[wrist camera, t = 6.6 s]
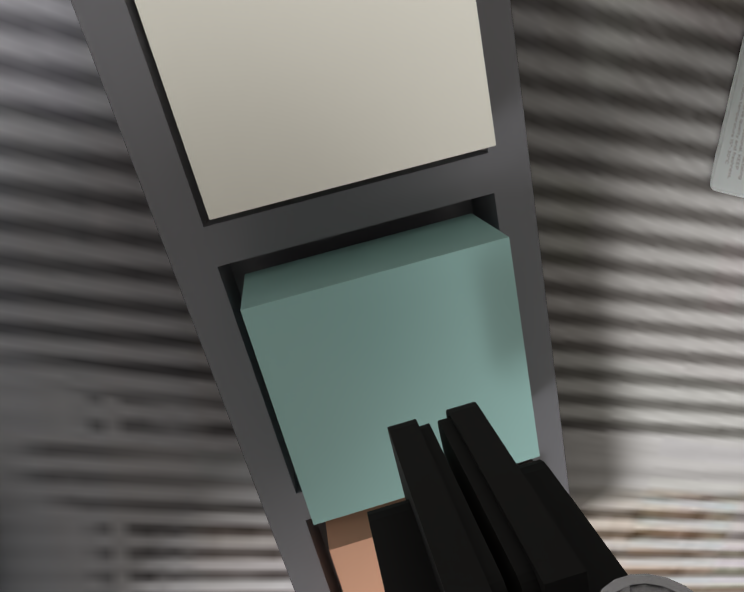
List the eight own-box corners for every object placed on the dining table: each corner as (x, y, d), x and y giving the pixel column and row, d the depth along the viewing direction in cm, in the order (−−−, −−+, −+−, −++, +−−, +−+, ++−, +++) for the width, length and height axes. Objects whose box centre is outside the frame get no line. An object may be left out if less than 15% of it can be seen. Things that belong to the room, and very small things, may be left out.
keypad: (72, -111, 14) (2, -181, 10) (424, -186, 15) (477, -277, 11) (327, 608, 23) (338, 706, 20) (536, 541, 24) (585, 625, 20)
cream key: (123, -94, 11) (86, -140, 9) (411, -157, 12) (445, -215, 10) (219, 196, 14) (209, 220, 11) (459, 135, 14) (496, 145, 12)
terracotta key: (321, 492, 18) (329, 550, 16) (498, 439, 19) (530, 488, 17) (363, 621, 21) (375, 689, 18) (521, 571, 21) (552, 631, 19)
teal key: (245, 274, 14) (240, 310, 12) (471, 213, 15) (509, 237, 13) (307, 464, 17) (313, 525, 14) (503, 406, 17) (540, 456, 15)
